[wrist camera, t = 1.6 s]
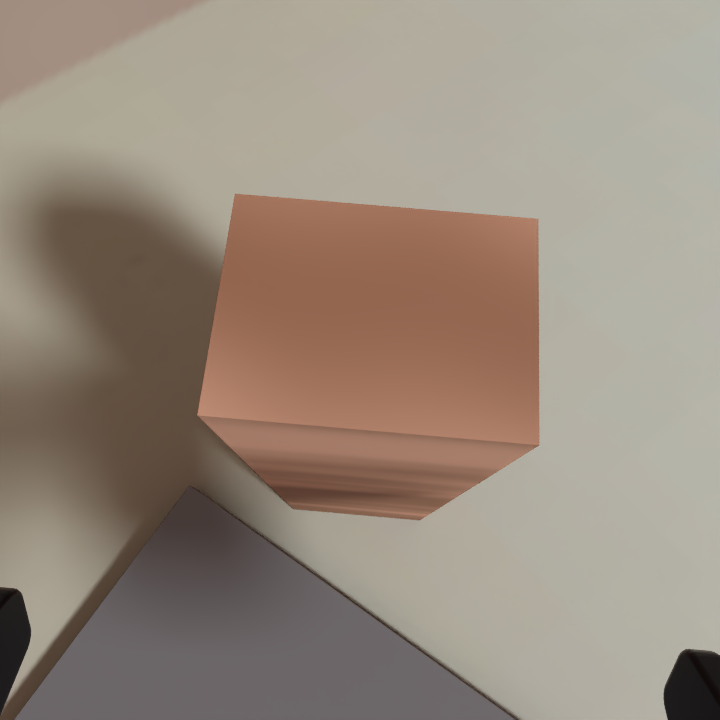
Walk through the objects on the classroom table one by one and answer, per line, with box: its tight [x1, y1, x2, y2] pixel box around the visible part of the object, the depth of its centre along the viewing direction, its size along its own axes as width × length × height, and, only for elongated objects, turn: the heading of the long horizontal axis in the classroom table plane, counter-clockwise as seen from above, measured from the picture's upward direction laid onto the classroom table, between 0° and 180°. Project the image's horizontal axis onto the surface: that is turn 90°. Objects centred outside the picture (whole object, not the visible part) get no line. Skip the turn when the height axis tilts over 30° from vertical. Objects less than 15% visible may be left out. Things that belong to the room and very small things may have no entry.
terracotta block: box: [197, 194, 539, 520], centre depth 14 cm, size 3×4×13 cm
